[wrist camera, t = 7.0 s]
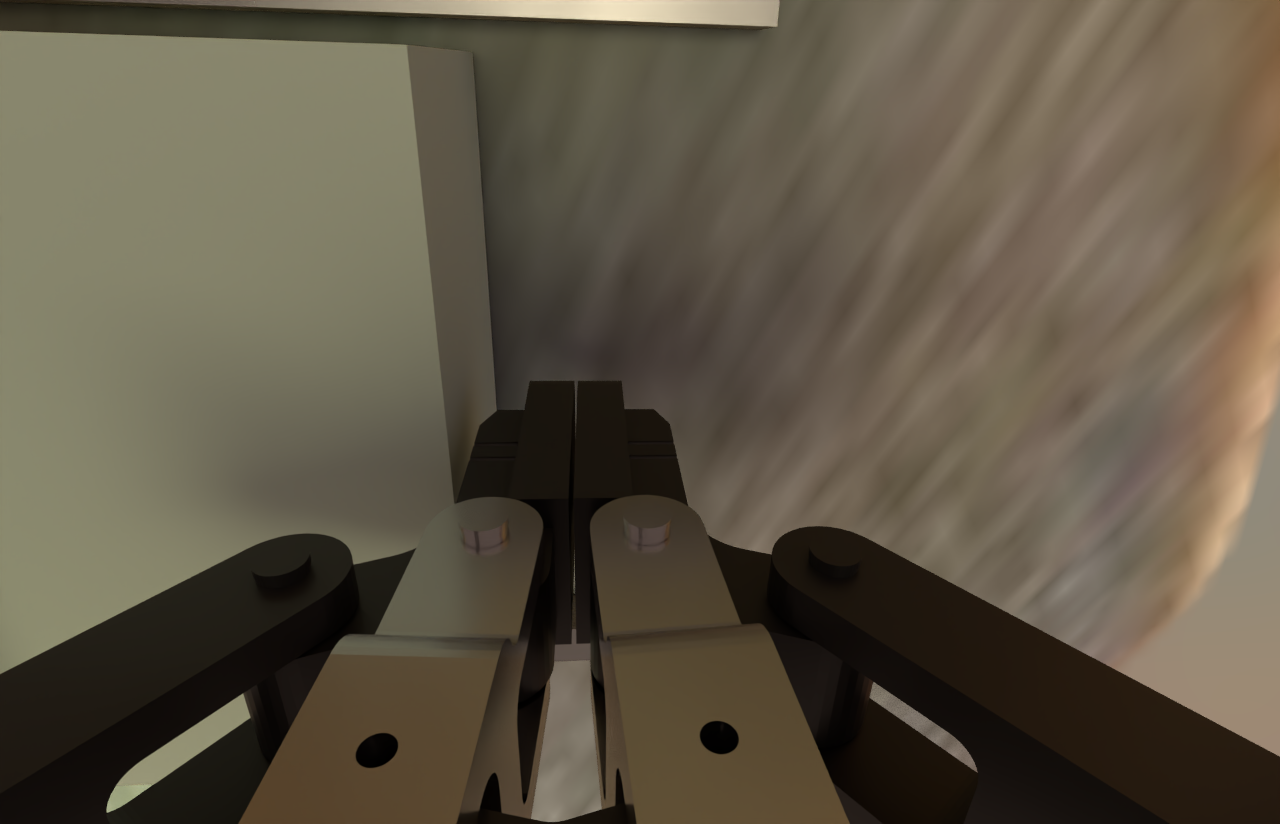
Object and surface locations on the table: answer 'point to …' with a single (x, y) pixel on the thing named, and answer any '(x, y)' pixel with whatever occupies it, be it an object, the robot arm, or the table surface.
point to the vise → (619, 3)
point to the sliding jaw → (227, 315)
